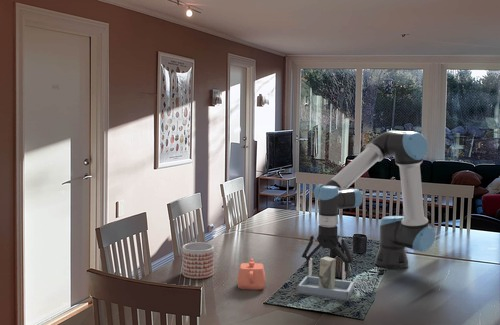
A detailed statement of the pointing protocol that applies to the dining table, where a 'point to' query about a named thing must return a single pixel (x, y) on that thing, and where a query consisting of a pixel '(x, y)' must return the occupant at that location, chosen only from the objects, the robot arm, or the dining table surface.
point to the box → (327, 273)
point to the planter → (198, 260)
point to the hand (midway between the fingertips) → (326, 277)
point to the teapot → (251, 276)
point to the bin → (339, 292)
